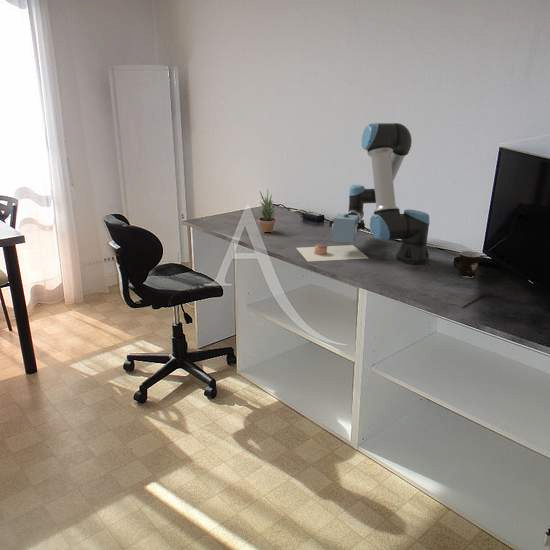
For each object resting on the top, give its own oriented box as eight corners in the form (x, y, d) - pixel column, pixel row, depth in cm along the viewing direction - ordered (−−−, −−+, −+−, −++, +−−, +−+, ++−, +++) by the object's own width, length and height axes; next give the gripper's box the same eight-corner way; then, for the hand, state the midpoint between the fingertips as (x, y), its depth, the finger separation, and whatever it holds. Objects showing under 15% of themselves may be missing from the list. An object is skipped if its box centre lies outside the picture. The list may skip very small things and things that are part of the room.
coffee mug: (474, 273, 229) (478, 251, 225) (479, 279, 221) (483, 257, 217) (447, 271, 230) (450, 250, 226) (451, 278, 222) (454, 256, 218)
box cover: (356, 237, 255) (358, 213, 251) (353, 242, 246) (354, 217, 242) (336, 235, 258) (338, 211, 254) (332, 240, 249) (333, 215, 245)
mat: (368, 259, 246) (368, 258, 245) (307, 262, 240) (307, 261, 239) (352, 245, 266) (352, 245, 266) (295, 248, 260) (295, 247, 260)
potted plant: (255, 232, 288) (255, 187, 279) (263, 228, 296) (263, 185, 287) (271, 234, 283) (271, 189, 275) (279, 231, 291) (279, 187, 283)
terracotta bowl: (328, 254, 249) (328, 247, 248) (316, 255, 248) (316, 248, 247) (324, 251, 255) (325, 244, 254) (312, 251, 254) (313, 244, 252)
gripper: (373, 228, 264) (367, 238, 244) (330, 224, 271) (320, 234, 251) (374, 213, 262) (368, 222, 242) (330, 210, 268) (320, 219, 248)
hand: (343, 228), depth 246 cm, fingers closed on box cover, 10 cm apart
